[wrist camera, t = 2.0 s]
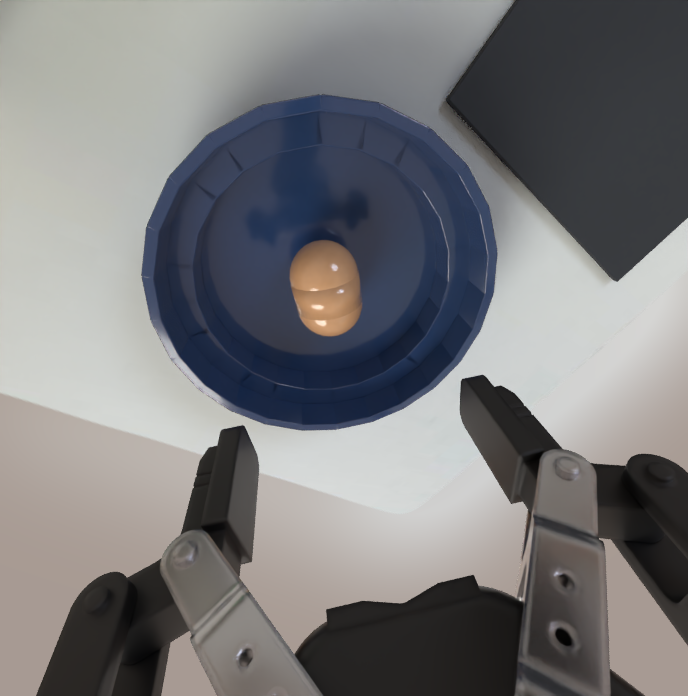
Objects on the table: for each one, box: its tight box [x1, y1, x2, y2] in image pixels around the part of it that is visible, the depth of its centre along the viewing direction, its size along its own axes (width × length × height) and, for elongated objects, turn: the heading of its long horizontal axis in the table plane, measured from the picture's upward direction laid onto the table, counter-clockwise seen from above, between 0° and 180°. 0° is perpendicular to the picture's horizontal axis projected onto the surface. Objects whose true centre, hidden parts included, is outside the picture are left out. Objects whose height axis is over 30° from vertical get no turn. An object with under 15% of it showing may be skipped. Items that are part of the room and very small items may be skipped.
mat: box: [446, 0, 688, 282], centre depth 20 cm, size 20×20×1 cm
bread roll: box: [289, 240, 363, 337], centre depth 23 cm, size 6×4×4 cm
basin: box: [141, 94, 497, 430], centre depth 23 cm, size 20×20×5 cm
